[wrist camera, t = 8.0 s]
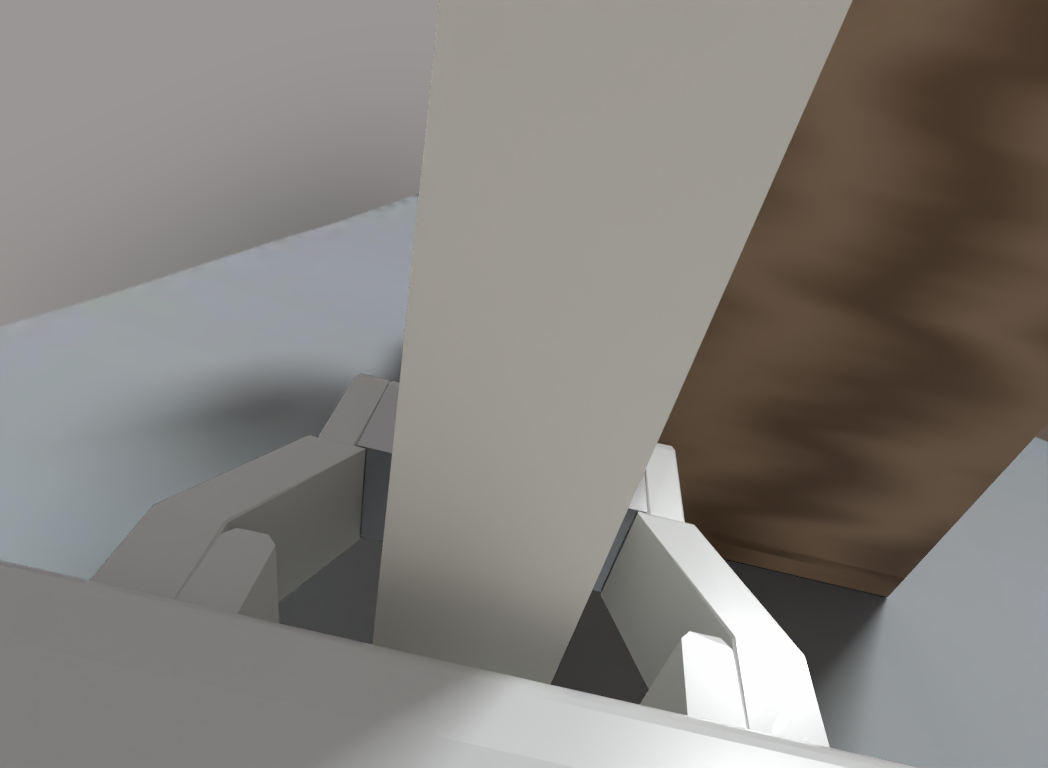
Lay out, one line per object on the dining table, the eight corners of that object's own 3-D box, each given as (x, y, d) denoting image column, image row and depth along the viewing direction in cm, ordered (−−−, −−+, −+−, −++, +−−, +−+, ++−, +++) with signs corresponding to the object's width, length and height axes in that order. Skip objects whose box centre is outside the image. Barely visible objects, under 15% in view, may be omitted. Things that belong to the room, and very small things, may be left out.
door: (511, 527, 22) (698, -125, 11) (439, 935, 13) (1050, -446, 2) (455, 515, 22) (590, -152, 11) (344, 914, 13) (501, -594, 2)
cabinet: (804, 403, 34) (1100, -88, 21) (887, 596, 24) (1555, -129, 11) (479, 325, 34) (584, -224, 21) (421, 487, 23) (558, -398, 11)
